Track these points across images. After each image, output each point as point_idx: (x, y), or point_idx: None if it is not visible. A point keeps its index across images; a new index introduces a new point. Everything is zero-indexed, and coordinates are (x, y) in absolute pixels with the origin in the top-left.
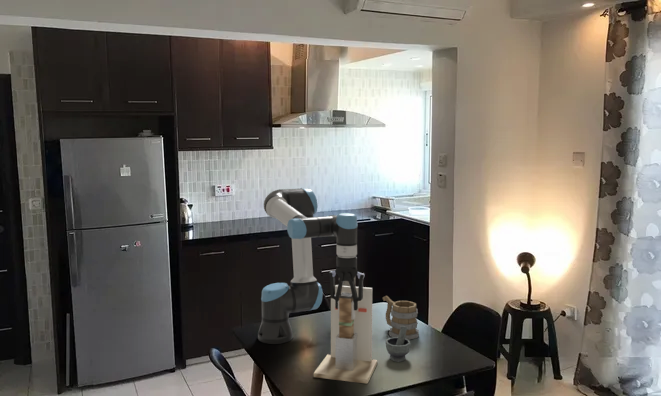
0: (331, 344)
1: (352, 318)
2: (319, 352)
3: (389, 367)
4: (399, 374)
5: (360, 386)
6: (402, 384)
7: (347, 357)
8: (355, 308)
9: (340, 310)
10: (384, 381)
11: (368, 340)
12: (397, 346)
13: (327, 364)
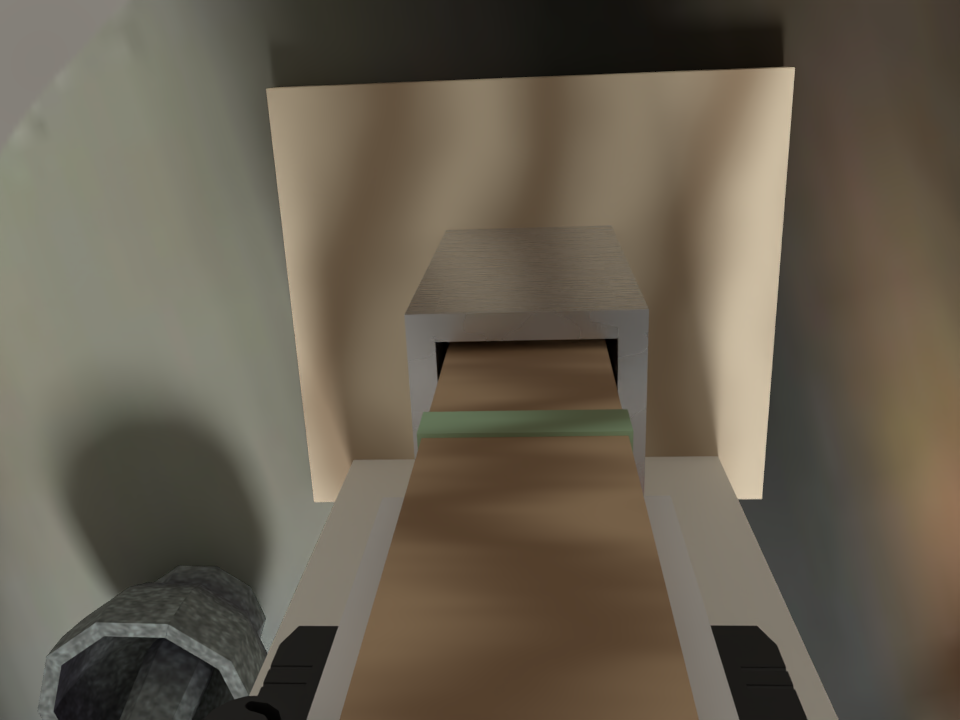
0: (738, 515)
1: (396, 508)
2: (849, 571)
3: (210, 448)
4: (94, 346)
5: (316, 12)
6: (7, 169)
7: (491, 256)
8: (306, 649)
9: (626, 545)
10: (159, 179)
11: (338, 561)
12: (117, 620)
13: (708, 294)
